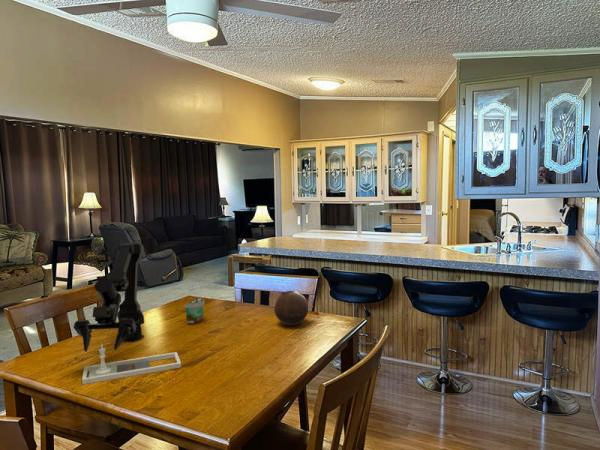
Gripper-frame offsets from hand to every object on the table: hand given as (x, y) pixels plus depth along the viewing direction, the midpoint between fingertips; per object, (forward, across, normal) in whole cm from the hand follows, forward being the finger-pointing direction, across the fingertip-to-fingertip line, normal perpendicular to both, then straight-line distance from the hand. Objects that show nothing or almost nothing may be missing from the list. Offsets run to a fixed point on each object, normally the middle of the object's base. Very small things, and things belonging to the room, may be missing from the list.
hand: (100, 350), depth 138 cm
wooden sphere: (-25, +66, +38) cm, 80 cm away
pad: (+5, 0, +7) cm, 9 cm away
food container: (-32, +24, +45) cm, 60 cm away
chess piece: (+5, 0, +7) cm, 8 cm away
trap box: (+3, +9, +9) cm, 13 cm away
